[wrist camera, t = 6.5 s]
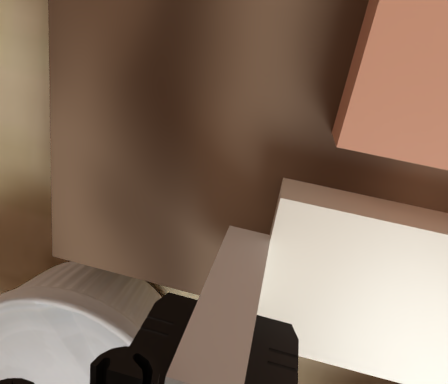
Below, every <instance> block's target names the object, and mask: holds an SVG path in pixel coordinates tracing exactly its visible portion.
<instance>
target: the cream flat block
mask: <svg viewBox="0 0 448 384" xmlns="http://www.w3.org/2000/svg"><path fill="white" fill-rule="evenodd" d="M270 235H271V239H270V244H269V250H268V256H267V261H266V267H265V272H264V278H263V283H262V289H261V294H260V300H259V305H258V311H257V315H259V316H263V317H267V318H271V319H274V320H278V321H282V322H286V323H290V324H292V326H293V328H294V331H295V333H296V335H297V337H298V339H299V349H298V356H300V357H304V358H308V359H312V360H315V361H319V362H323V363H327V364H330V365H334V366H338V367H341V368H345V369H349V370H353V371H356V372H360V373H364V374H367V375H371V376H375V377H379V378H382V379H386V380H390V381H393V382H397V383H401V384H448V213H445V212H440V211H436V210H431V209H426V208H422V207H417V206H412V205H408V204H403V203H399V202H394V201H389V200H385V199H380V198H375V197H371V196H366V195H362V194H357V193H352V192H348V191H343V190H338V189H334V188H329V187H324V186H320V185H315V184H311V183H306V182H301V181H297V180H292V179H287V178H283V180H282V185H281V189H280V193H279V197H278V202H277V206H276V210H275V214H274V219H273V223H272V227H271V231H270Z"/></svg>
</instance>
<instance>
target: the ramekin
mask: <svg viewBox="0 0 448 384" xmlns="http://www.w3.org/2000/svg"><path fill="white" fill-rule="evenodd" d="M160 298H162V297H161V295H160V294H159V293H158V292H157V291H156V290H155V289H154V288H153V287H152V286H151V285H150V284H149V283H148V282H147V281H144V280H140V279H136V278H133V277H129V276H125V275H121V274H117V273H114V272H110V271H106V270H102V269H99V268H95V267H91V266H87V265H83V264H80V263H76V262H72V261H70V262H65V263H61V264H60V265H56V266H54V267H52V268H50V269H48V270H46V271H44V272H43V273H41V274H39V275H37V276H36V277H34V278H33V279H31V280H29V281H28V282H26V283H24V284H22V285H21V286H19V287H17V288H16V289H13V290H10V291H7V292H5V293H3V294H1V295H0V380H3V379H7V378H23V379H26V380H29V381H31V382H34V384H90V364H91V363H92V362H93V361H94V360H95V359H96V358H97V357H98V356H99V355H100V354H102V353H104V352H106V351H108V350H110V349H112V348H117V347H123V346H128V347H129V346H130V344H131V343H132V341H133V339H134V338H135V336H136V334H137V332H138V331H139V329H140V328H141V326H142V324H143V322H144V320H145V319H146V318H147V315H148V314H149V312H150V310H151V309H152V307H153V305H154V303H155V302H156V301H158V300H159V299H160Z"/></svg>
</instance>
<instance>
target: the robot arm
mask: <svg viewBox="0 0 448 384" xmlns="http://www.w3.org/2000/svg"><path fill="white" fill-rule="evenodd" d="M270 239H271V235H268V234H263V233H259V232H255V231H251V230H247V229H242V228H238V227H234V226H229V228H228V230H227V233H226V235H225V237H224V240H223V242H222V244H221V247H220V249H219V252H218V254H217V256H216V259H215V261H214V263H213V266H212V268H211V270H210V273H209V275H208V277H207V280H206V282H205V285H204V287H203V289H202V292H201V294H200V296H199V299H198V300H195V299H191V298H187V297H183V296H180V295H176V294H172V293H168V294H166V295H165V296H163V297H162V298H160V299H159V300H158V301H156V302H155V303H154V305H153V307H152V309H151V310H150V312H149V314H148V315H147V318H146V319H145V320H144V322H143V324H142V326H141V328H140V329H139V331H138V332H137V334H136V336H135V338H134V339H133V341H132V343H131V344H130V346H129V347H128V346H123V347H117V348H112V349H110V350H108V351H106V352H104V353H102V354H100V355H99V356H98V357H97V358H96V359H95V360H94V361H93V362H92V363H91V364H90V384H298V373H297V372H298V349H299V339H298V337H297V335H296V333H295V331H294V328H293V326H292V324H290V323H286V322H282V321H278V320H274V319H271V318H267V317H263V316H259V315H257V311H258V305H259V300H260V294H261V289H262V283H263V278H264V272H265V267H266V261H267V256H268V250H269V244H270ZM0 384H34V382H31V381H29V380H26V379H23V378H7V379H3V380H0Z"/></svg>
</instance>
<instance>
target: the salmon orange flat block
mask: <svg viewBox="0 0 448 384" xmlns="http://www.w3.org/2000/svg"><path fill="white" fill-rule="evenodd" d="M332 135H333V138H334V141H335V144H336V147H338V148H343V149H348V150H352V151H357V152H362V153H367V154H372V155H376V156H381V157H386V158H391V159H396V160H400V161H405V162H410V163H415V164H420V165H424V166H429V167H434V168H439V169H444V170H448V0H369V2H368V5H367V9H366V13H365V16H364V20H363V23H362V27H361V30H360V34H359V37H358V41H357V45H356V48H355V52H354V55H353V59H352V62H351V66H350V69H349V73H348V77H347V80H346V84H345V87H344V91H343V94H342V98H341V101H340V105H339V109H338V112H337V116H336V119H335V123H334V126H333V130H332Z"/></svg>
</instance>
